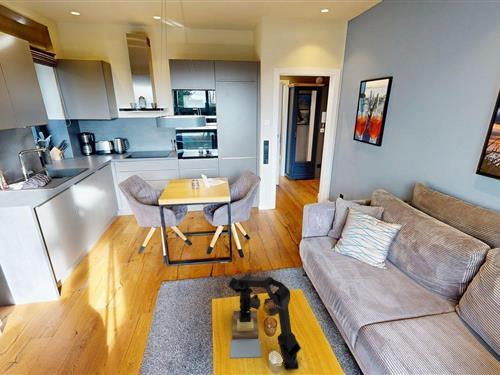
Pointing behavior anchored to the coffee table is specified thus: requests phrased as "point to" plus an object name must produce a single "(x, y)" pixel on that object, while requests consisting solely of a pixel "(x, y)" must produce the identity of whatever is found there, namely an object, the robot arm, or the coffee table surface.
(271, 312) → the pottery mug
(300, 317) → the coffee table surface
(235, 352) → the mat
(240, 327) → the bevelled yellow tile
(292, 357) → the robot arm
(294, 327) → the coffee table surface
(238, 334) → the deck
